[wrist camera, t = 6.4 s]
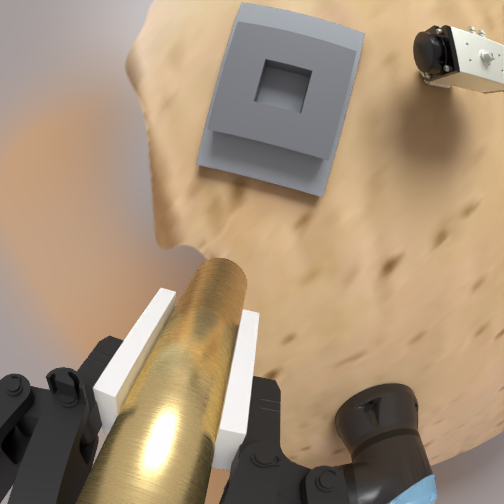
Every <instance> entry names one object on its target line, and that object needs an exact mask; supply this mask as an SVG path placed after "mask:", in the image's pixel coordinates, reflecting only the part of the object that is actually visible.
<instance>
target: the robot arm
mask: <svg viewBox="0 0 504 504" xmlns="http://www.w3.org/2000/svg"><path fill="white" fill-rule="evenodd" d="M175 298H176V292H174V291H171V290H167V289H163V288H160V290H159V291H158V293H157V294H156V295H155V297H154V298H153V300H152V301H151V302H150V304H149V305H148V307H147V308H146V309H145V311H144V313H143V314H142V315H141V317H140V318H139V319H138V321H137V322H136V324H135V325H134V327H133V328H132V330H131V331H130V333H129V334H128V335H127V337H126V339H125V340H124V341H123V340H120V339H118V338H114V337H112V336H108V337H107V338H104V339H103V340H101V341H99V343H98V344H97V345H96V347H95V348H94V349H93V352H91V353H90V355H89V356H88V358H87V359H86V360H85V361H84V363H83V364H82V365H81V367H80V368H79V369H78V371H74V370H73V369H71V368H65V367H62V368H56V369H54V370H52V371H50V372H49V373H48V375H47V376H46V379H47V382H48V385H49V388H50V390H47V389H42V388H37V387H33V386H30V383H29V381H28V380H27V379H26V378H25V377H24V376H22V375H20V374H10V375H7V376H5V377H4V378H3V379H1V380H0V503H1V502H2V500H3V499H4V497H5V496H6V494H7V493H8V491H9V490H10V488H11V487H12V485H13V484H14V485H13V488H12V491H11V494H10V497H9V501H8V504H76V502H77V500H78V497H79V495H80V493H81V491H82V488H83V486H84V484H85V482H86V480H87V478H88V475H89V473H90V471H91V469H92V465H93V461H94V457H95V453H96V450H97V446H98V435H97V434H98V432H99V430H100V428H101V427H102V429H103V432H104V433H105V434H107V435H108V434H109V432H110V430H111V428H112V426H113V424H114V422H115V420H116V418H117V416H118V414H119V412H120V410H121V408H122V406H123V404H124V402H125V400H126V398H127V396H128V394H129V392H130V390H131V388H132V386H133V384H134V382H135V381H136V379H137V377H138V375H139V373H140V371H141V369H142V367H143V365H144V364H145V362H146V360H147V358H148V356H149V354H150V352H151V351H152V349H153V347H154V345H155V343H156V341H157V339H158V338H159V336H160V334H161V332H162V330H163V329H164V327H165V325H166V323H167V321H168V320H169V318H170V316H171V314H172V312H173V311H174V307H175ZM258 322H259V313H257V312H252V311H248V310H244V309H243V311H242V315H241V319H240V322H239V326H238V331H237V336H236V341H235V346H234V351H233V356H232V361H231V366H230V371H229V376H228V381H227V386H226V391H225V396H224V401H223V406H222V411H221V416H220V421H219V426H218V431H217V436H216V441H215V452H214V457H213V462H212V467H213V468H217V469H223V470H228V471H229V470H230V469H231V471H230V477H229V480H228V482H227V484H226V486H225V488H224V492H223V495H222V497H221V500H220V503H219V504H434V503H435V501H436V499H437V489H436V485H435V481H434V480H435V476H434V474H433V473H432V470H431V467H430V464H429V461H428V458H427V455H426V452H425V449H424V446H423V444H422V441H421V438H420V435H419V432H418V402H417V399H416V397H415V394H414V392H413V391H412V389H411V388H409V387H408V386H405V385H402V384H383V385H378V386H375V387H371V388H369V389H366V390H364V391H362V392H360V393H358V394H356V395H355V396H353V397H352V398H350V399H349V400H348V401H346V402H345V403H344V404H343V405H342V406H341V408H340V409H339V411H338V412H337V415H336V419H335V421H336V428H337V432H338V435H339V436H340V438H341V439H342V440H343V442H344V444H345V446H346V447H347V449H348V451H349V452H350V454H351V457H352V463H350V464H345V465H340V466H334V467H330V466H319V467H315V468H314V469H309V468H306V467H303V466H301V465H298V464H296V463H294V462H292V461H290V460H289V459H288V458H287V457H286V456H285V455H284V454H283V452H282V450H281V447H280V401H281V391H280V389H279V387H278V385H277V383H276V380H271V379H266V378H261V377H256V376H253V369H254V360H255V351H256V341H257V332H258Z"/></svg>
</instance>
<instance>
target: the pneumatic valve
mask: <svg viewBox="0 0 504 504" xmlns="http://www.w3.org/2000/svg"><path fill="white" fill-rule="evenodd" d="M468 31H469V32H467V31H464V30H460V29H457V28H454V27H450V26H447V25H444V26H442V27H438V26H433V27H431V28H429V29H428V30H426V31H425V32H419V33H418V34H417V36H416V38H415V40H414V46H413V53H414V59H415V63H416V65H417V67H418V69H419V70H420V72H421V75H422V76H423V77H424V78H425V79H424V81H425V83H427V84H428V85H432V86H438V87H444V88H450V87H452V86H456V87H460V88H465V89H469V90H473V91H478V92H481V93H485V94H486V93H494V92H502V91H503V92H504V45H502V44H499V43H497V42H494V41H492V40H489V39H487V38H486V36H485V32H484V31H482V30H479V31H478V35H479V36H478V35H476V32H475V28H474V27H468Z"/></svg>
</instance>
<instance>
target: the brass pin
mask: <svg viewBox="0 0 504 504" xmlns="http://www.w3.org/2000/svg"><path fill="white" fill-rule="evenodd" d="M246 289H247V279H246V276H245V273H244V272H243V270H242V269H241V268H240V267H239V266H238V265H237V264H236V263H234V262H232V261H230V260H228V259H224V258H213V259H209V260H207V261H205V262H203V263H202V264H201V265H200V266H199V267H198V269H197V270H196V272H195V274H194V276H193V277H192V279H191V281H190V282H189V284H188V286H187V288H186V290H185V291H184V293H183V295H182V296H181V299H180V300H179V302H178V304H177V305H176V307H175V309H174V311H173V312H172V314H171V316H170V318H169V320H168V321H167V323H166V325H165V327H164V329H163V330H162V332H161V334H160V336H159V338H158V339H157V341H156V343H155V345H154V347H153V349H152V351H151V352H150V354H149V356H148V358H147V360H146V362H145V364H144V365H143V367H142V369H141V371H140V373H139V375H138V377H137V379H136V381H135V382H134V384H133V386H132V388H131V390H130V392H129V394H128V396H127V398H126V400H125V402H124V404H123V406H122V408H121V410H120V412H119V414H118V416H117V418H116V420H115V422H114V424H113V426H112V428H111V430H110V432H109V434H108V436H107V438H106V440H105V442H104V444H103V446H102V448H101V450H100V452H99V454H98V457H97V459H96V460H95V463H94V465H93V467H92V469H91V471H90V473H89V475H88V478H87V480H86V482H85V484H84V486H83V488H82V491H81V493H80V495H79V497H78V500H77V502H76V504H204V503H205V498H206V493H207V488H208V483H209V477H210V472H211V467H212V462H213V457H214V452H215V441H216V436H217V431H218V426H219V421H220V416H221V411H222V406H223V401H224V396H225V391H226V386H227V381H228V376H229V371H230V366H231V361H232V356H233V351H234V346H235V341H236V336H237V331H238V326H239V322H240V319H241V315H242V310H243V305H244V300H245V295H246Z"/></svg>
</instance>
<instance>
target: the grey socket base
mask: <svg viewBox="0 0 504 504" xmlns="http://www.w3.org/2000/svg"><path fill="white" fill-rule="evenodd" d="M364 36H365V33H362V32H359V31H357V30H354V29H351V28H348V27H345V26H342V25H339V24H336V23H333V22H330V21H326V20H323V19H319V18H316V17H312V16H308V15H304V14H300V13H296V12H292V11H288V10H283V9H278V8H273V7H268V6H262V5H256V4H250V3H243V2H241V5H240V8H239V11H238V14H237V17H236V20H235V23H234V26H233V29H232V32H231V35H230V39H229V42H228V45H227V48H226V52H225V55H224V58H223V62H222V65H221V68H220V72H219V75H218V79H217V83H216V86H215V90H214V94H213V97H212V101H211V105H210V109H209V113H208V117H207V121H206V125H205V129H204V133H203V137H202V141H201V145H200V150H199V154H198V159H197V163H196V165H201V166H205V167H210V168H214V169H218V170H222V171H227V172H231V173H235V174H239V175H243V176H247V177H251V178H255V179H259V180H263V181H266V182H270V183H274V184H278V185H281V186H285V187H288V188H292V189H296V190H299V191H303V192H306V193H309V194H313V195H316V196H320V197H322V196H323V193H324V189H325V186H326V183H327V179H328V176H329V173H330V169H331V166H332V162H333V159H334V155H335V152H336V148H337V145H338V141H339V137H340V134H341V130H342V126H343V123H344V119H345V115H346V111H347V107H348V103H349V99H350V96H351V92H352V88H353V83H354V79H355V75H356V71H357V67H358V63H359V58H360V54H361V49H362V45H363V40H364Z"/></svg>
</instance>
